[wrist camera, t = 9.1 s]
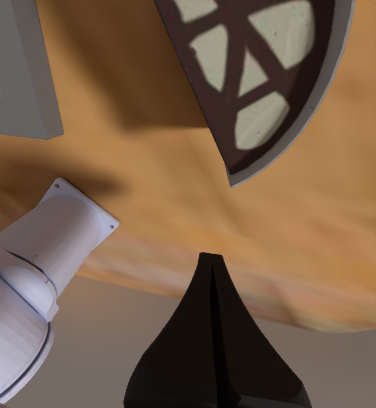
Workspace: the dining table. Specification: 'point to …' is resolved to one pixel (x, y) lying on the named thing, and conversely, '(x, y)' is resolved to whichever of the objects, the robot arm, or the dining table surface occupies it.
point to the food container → (257, 69)
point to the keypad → (25, 75)
